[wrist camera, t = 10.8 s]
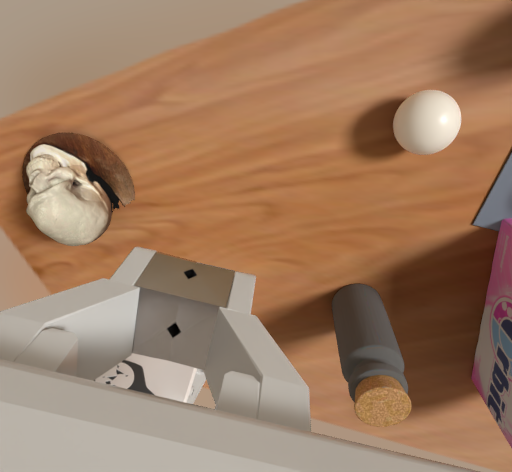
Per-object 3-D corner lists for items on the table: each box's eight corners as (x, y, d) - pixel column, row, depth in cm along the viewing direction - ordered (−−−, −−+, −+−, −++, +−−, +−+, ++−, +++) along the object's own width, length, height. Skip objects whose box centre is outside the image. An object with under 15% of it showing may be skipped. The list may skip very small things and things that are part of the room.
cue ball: (382, 148, 34) (397, 159, 38) (452, 148, 31) (460, 159, 36) (390, 83, 34) (404, 102, 38) (461, 77, 31) (468, 98, 35)
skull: (-10, 174, 42) (-19, 159, 33) (76, 127, 46) (88, 103, 37) (64, 262, 46) (73, 269, 37) (137, 211, 50) (161, 207, 41)
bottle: (332, 324, 48) (349, 432, 35) (329, 284, 46) (346, 384, 32) (381, 322, 47) (417, 431, 34) (381, 281, 45) (420, 381, 32)
